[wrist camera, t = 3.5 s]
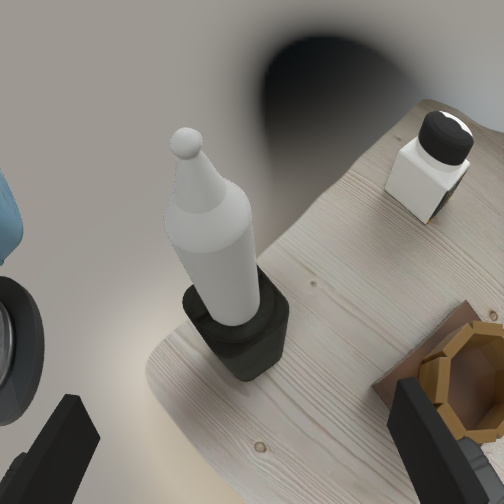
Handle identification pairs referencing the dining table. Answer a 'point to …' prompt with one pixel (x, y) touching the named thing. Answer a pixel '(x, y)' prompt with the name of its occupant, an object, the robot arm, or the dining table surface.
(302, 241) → the dining table surface
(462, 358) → the stand
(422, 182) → the medicine bottle
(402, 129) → the dining table surface
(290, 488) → the dining table surface
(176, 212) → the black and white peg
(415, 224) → the dining table surface
